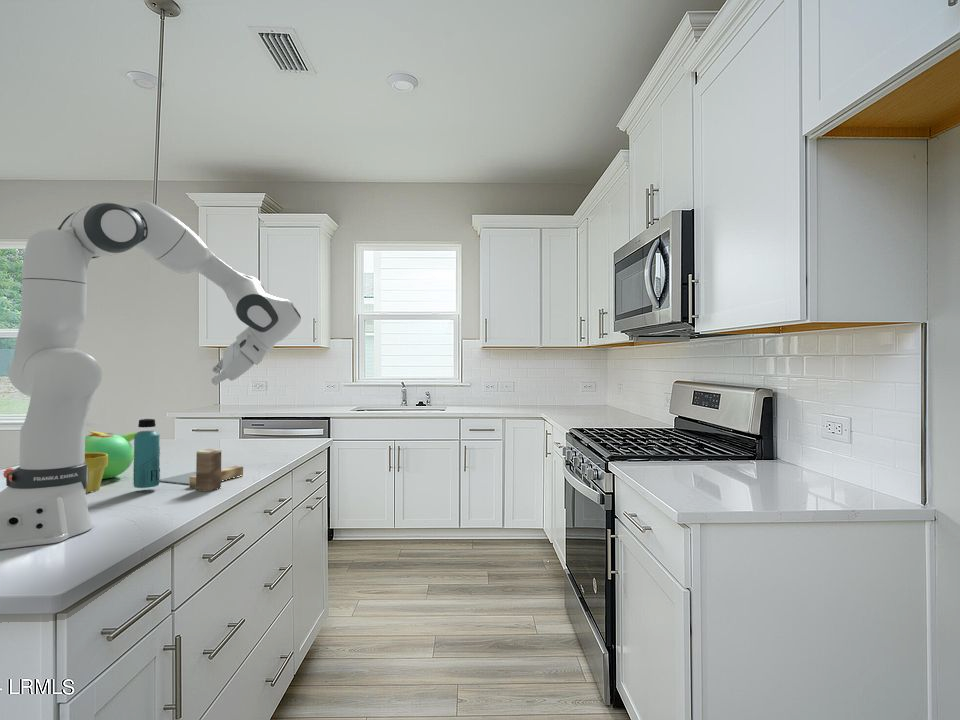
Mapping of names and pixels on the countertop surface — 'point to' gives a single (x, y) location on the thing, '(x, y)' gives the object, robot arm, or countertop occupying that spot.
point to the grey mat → (179, 478)
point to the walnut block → (208, 469)
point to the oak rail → (222, 474)
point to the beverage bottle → (146, 456)
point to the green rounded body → (112, 450)
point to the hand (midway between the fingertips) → (213, 376)
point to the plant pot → (95, 469)
